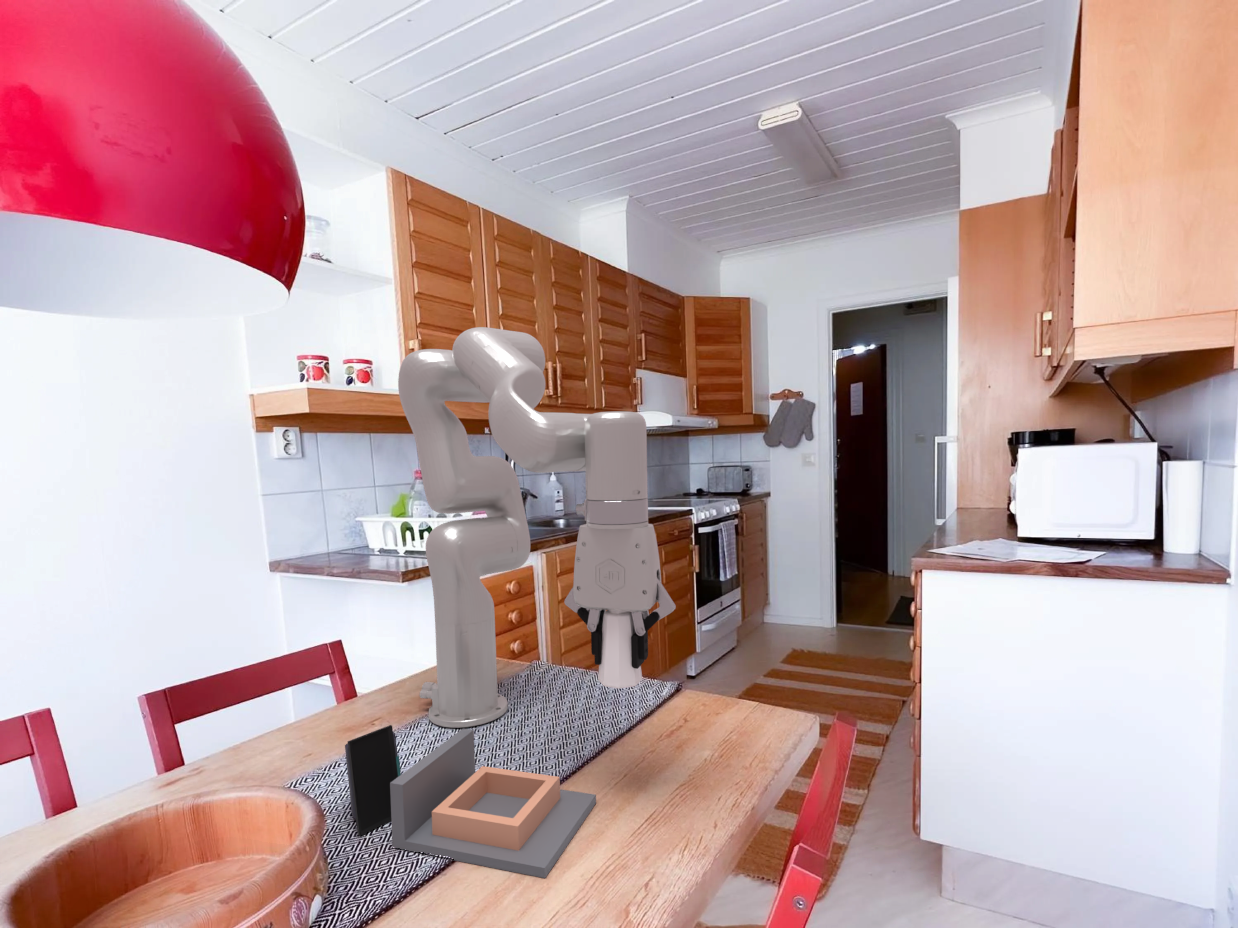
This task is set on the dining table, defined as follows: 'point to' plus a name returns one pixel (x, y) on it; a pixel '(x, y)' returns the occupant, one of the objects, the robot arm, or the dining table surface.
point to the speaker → (372, 777)
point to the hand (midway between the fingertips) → (619, 661)
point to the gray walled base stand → (484, 811)
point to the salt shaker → (617, 651)
